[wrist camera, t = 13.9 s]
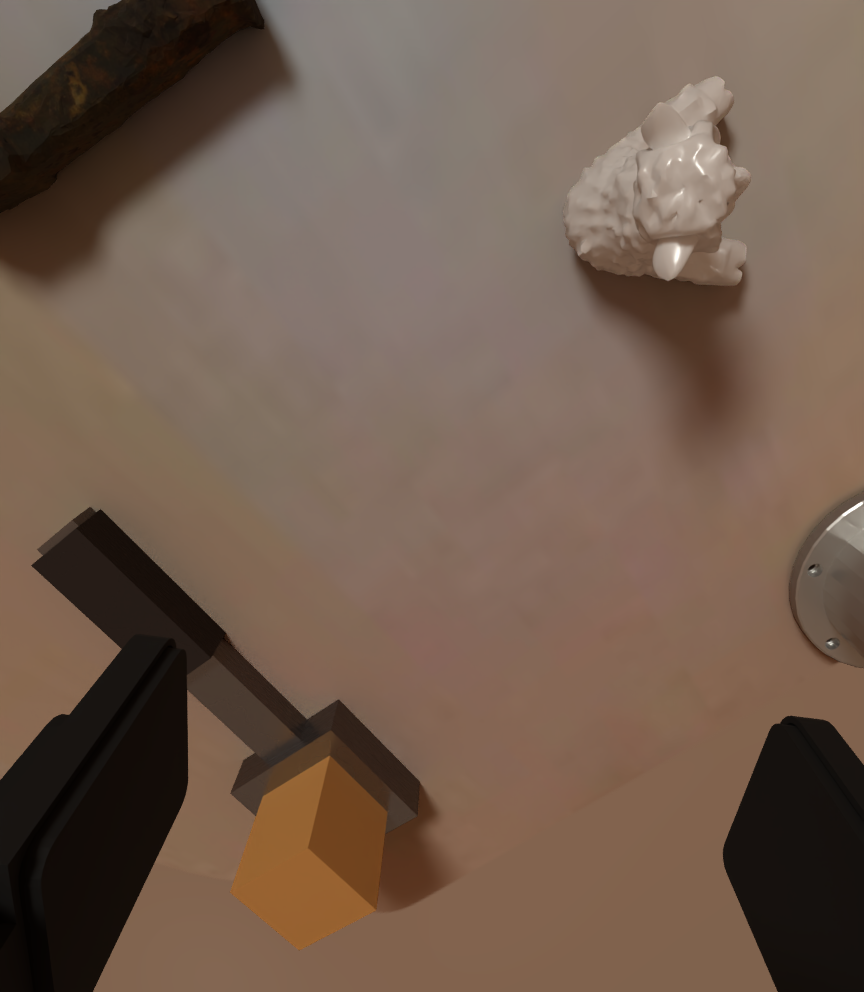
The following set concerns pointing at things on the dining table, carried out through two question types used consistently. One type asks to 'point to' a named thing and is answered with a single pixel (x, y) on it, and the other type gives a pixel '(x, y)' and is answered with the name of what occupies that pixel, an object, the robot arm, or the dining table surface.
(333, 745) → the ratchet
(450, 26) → the dining table surface
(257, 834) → the orange cube
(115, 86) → the hand tool
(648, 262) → the seated beast figurine
